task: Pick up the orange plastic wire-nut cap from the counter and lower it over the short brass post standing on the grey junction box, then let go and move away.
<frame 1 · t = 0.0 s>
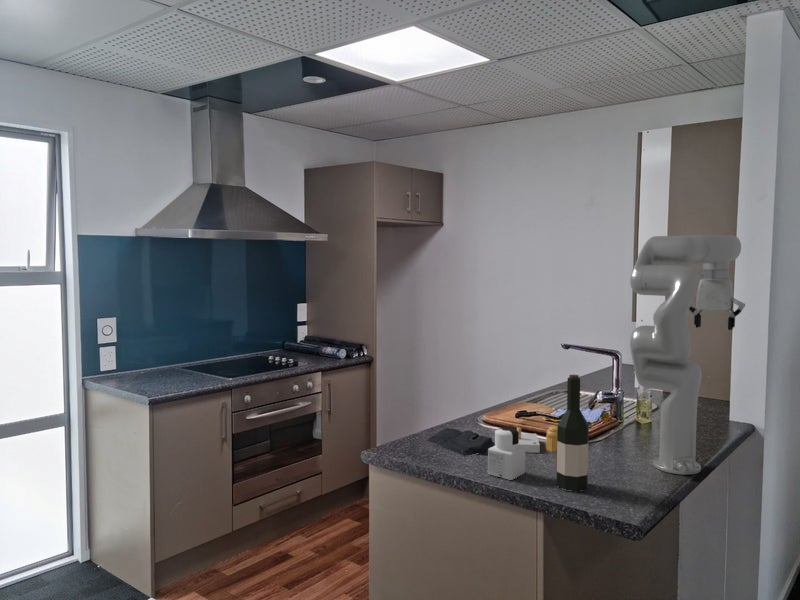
hand: (714, 328, 201), 37 cm above the worktop, tool pointing down, fingers open, 9 cm apart
wine bottle: (572, 487, 166), on the worktop
container: (506, 475, 175), on the worktop
black folded cloth: (462, 446, 203), on the worktop
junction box: (518, 446, 200), on the worktop
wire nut: (554, 449, 197), on the worktop
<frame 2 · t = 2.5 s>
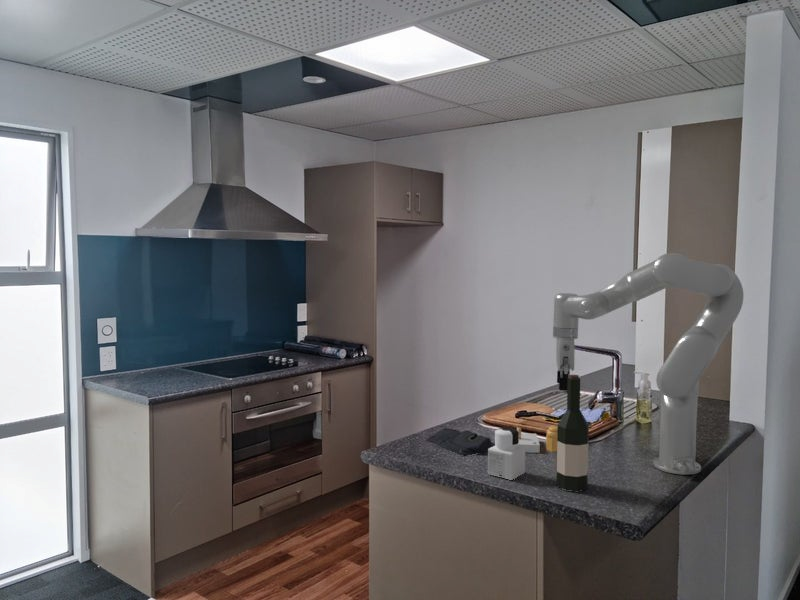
hand: (563, 386, 196), 20 cm above the worktop, tool pointing down, fingers open, 9 cm apart
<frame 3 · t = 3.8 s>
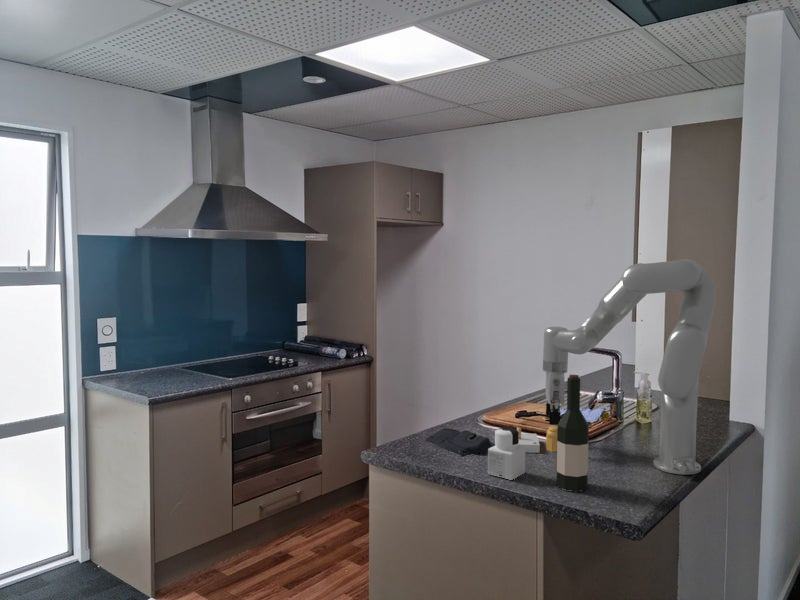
hand: (552, 419, 197), 9 cm above the worktop, tool pointing down, fingers open, 9 cm apart
nothing on the worktop moved.
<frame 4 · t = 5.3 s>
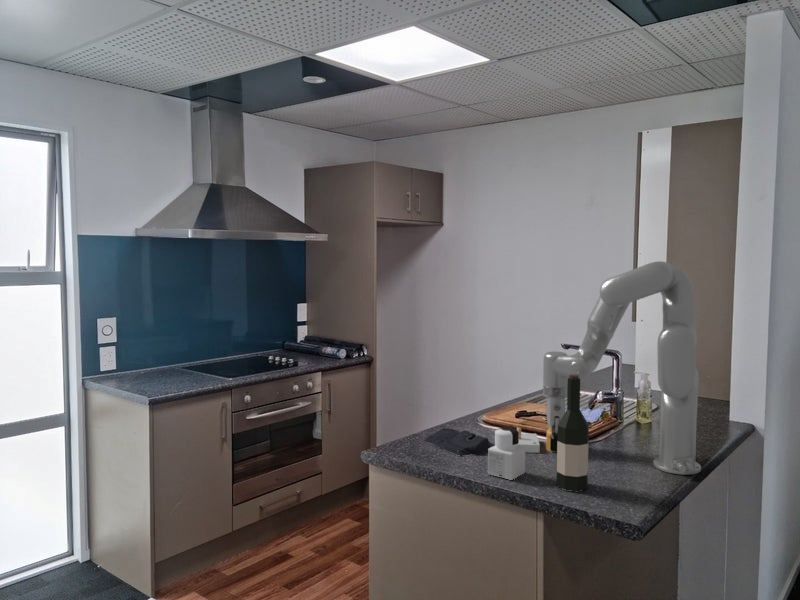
hand: (554, 447, 197), 1 cm above the worktop, tool pointing down, fingers closed on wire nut, 5 cm apart
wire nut: (554, 449, 197), on the worktop, touching gripper
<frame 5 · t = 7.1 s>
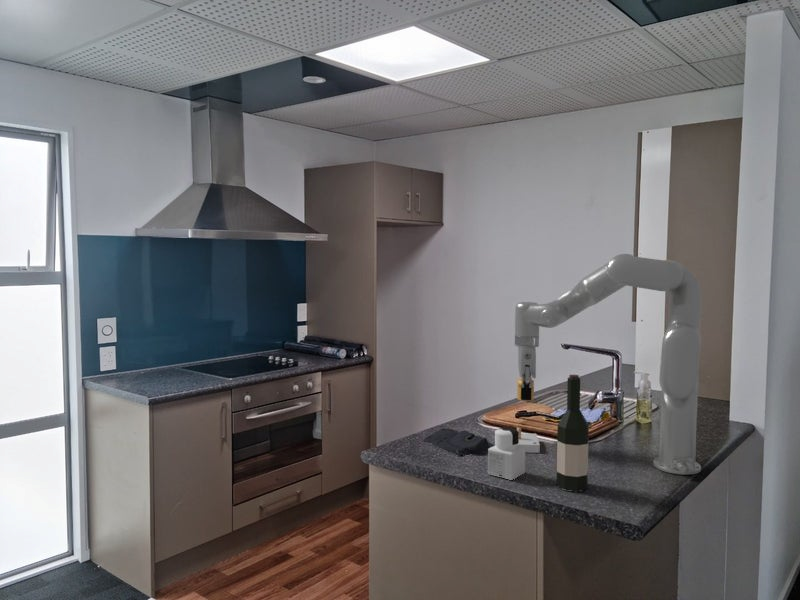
hand: (525, 397, 199), 16 cm above the worktop, tool pointing down, fingers closed on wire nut, 5 cm apart
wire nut: (525, 399, 199), point 16 cm above the worktop, touching gripper
when the fingers open (4 cm above the worktop, at t = 9.4 s): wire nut stays where it is, resting on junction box.
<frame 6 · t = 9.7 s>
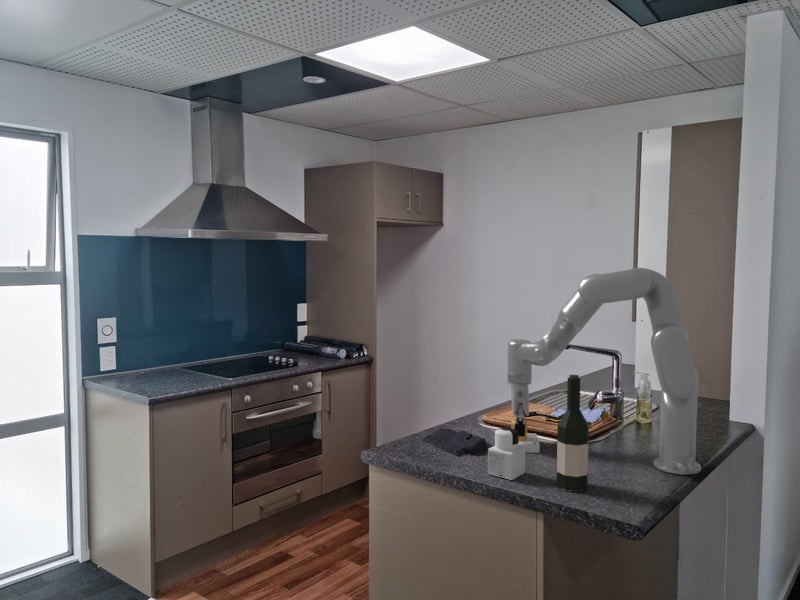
hand: (519, 431, 200), 5 cm above the worktop, tool pointing down, fingers open, 8 cm apart
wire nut: (518, 438, 200), point 2 cm above the worktop, touching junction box
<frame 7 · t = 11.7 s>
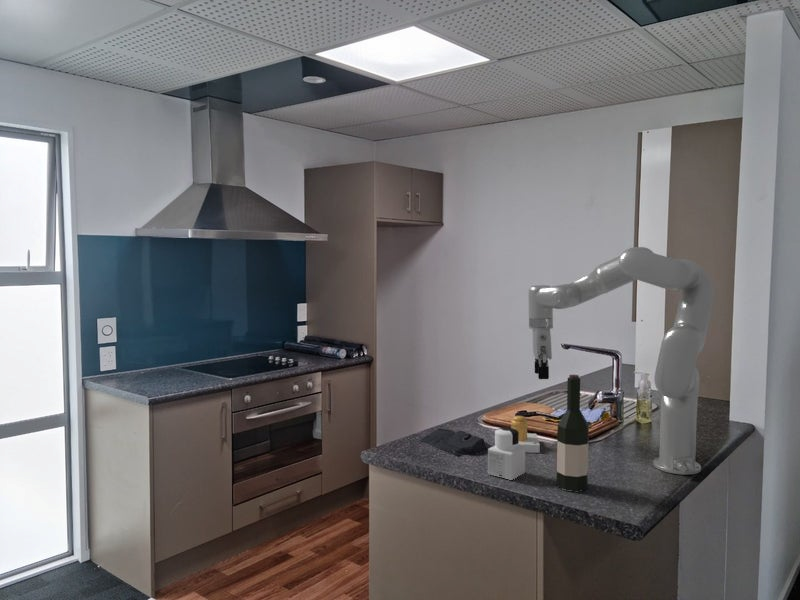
hand: (541, 376, 202), 22 cm above the worktop, tool pointing down, fingers open, 9 cm apart
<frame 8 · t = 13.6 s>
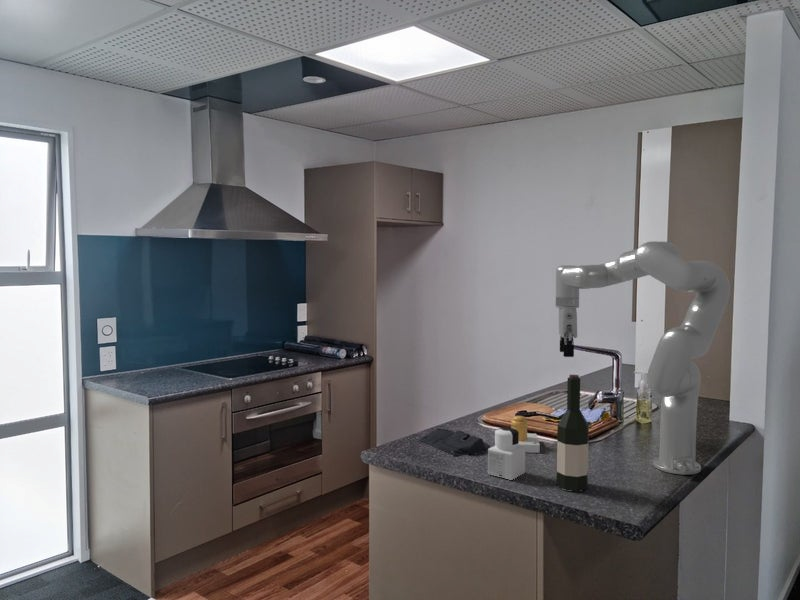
hand: (566, 354, 207), 28 cm above the worktop, tool pointing down, fingers open, 9 cm apart
at the end: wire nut 0.0 cm from the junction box (horizontally); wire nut point 2.5 cm above the worktop; the gripper is holding nothing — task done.
